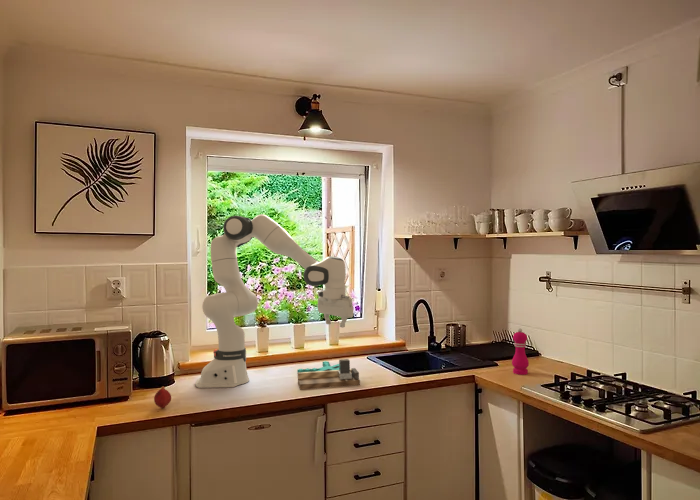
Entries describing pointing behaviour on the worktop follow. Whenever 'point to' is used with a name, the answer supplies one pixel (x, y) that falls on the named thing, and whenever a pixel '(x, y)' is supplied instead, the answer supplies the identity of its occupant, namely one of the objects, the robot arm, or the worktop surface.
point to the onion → (162, 398)
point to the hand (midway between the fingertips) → (335, 325)
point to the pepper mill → (520, 354)
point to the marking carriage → (344, 369)
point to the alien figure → (325, 367)
